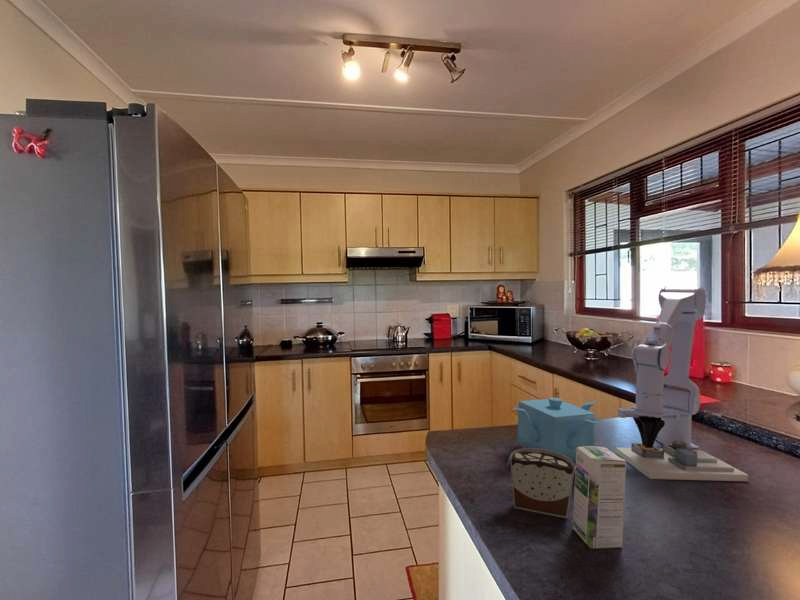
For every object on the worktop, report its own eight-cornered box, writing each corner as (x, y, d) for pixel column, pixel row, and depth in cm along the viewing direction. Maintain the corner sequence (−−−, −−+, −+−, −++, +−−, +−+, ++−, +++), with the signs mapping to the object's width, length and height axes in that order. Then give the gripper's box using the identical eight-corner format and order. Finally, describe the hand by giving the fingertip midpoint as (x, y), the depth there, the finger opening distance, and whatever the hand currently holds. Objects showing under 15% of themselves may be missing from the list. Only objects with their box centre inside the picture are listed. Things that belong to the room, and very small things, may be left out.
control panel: (615, 453, 101) (615, 441, 101) (699, 455, 101) (700, 443, 101) (649, 478, 87) (650, 465, 87) (747, 481, 87) (748, 467, 87)
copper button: (637, 449, 99) (637, 443, 99) (649, 450, 99) (649, 444, 99) (645, 454, 96) (645, 448, 96) (657, 455, 96) (657, 448, 96)
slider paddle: (675, 460, 93) (675, 448, 93) (685, 461, 93) (685, 448, 93) (686, 467, 89) (686, 454, 89) (696, 467, 89) (697, 454, 89)
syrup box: (571, 528, 68) (573, 445, 68) (603, 527, 68) (606, 445, 68) (589, 549, 62) (592, 460, 62) (624, 548, 63) (627, 459, 62)
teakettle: (522, 438, 110) (523, 386, 110) (596, 451, 102) (597, 395, 102) (509, 463, 94) (511, 402, 93) (596, 482, 85) (598, 415, 85)
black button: (669, 446, 99) (669, 440, 99) (680, 446, 99) (681, 440, 99) (677, 451, 96) (677, 444, 96) (689, 451, 96) (689, 445, 96)
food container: (573, 503, 76) (574, 452, 76) (576, 520, 70) (578, 465, 70) (507, 491, 80) (509, 443, 80) (506, 506, 74) (507, 454, 74)
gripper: (629, 396, 93) (627, 452, 94) (690, 397, 93) (688, 453, 94) (613, 388, 100) (612, 440, 101) (669, 390, 100) (667, 442, 101)
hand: (647, 446), depth 98 cm, fingers closed, pressing on copper button
